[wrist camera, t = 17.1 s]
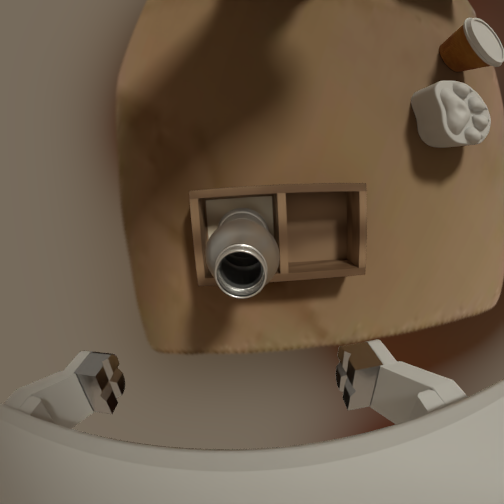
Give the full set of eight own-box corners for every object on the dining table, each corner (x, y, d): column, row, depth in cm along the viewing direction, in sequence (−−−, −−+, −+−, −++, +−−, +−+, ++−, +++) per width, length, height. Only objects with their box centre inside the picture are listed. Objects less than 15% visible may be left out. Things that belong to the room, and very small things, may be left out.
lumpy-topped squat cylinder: (406, 89, 35) (435, 74, 27) (458, 93, 35) (487, 83, 26) (421, 149, 37) (453, 144, 29) (470, 146, 37) (502, 144, 29)
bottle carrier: (196, 190, 39) (188, 191, 33) (350, 183, 39) (366, 183, 33) (204, 273, 41) (198, 286, 36) (351, 263, 41) (365, 274, 36)
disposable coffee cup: (452, 85, 34) (494, 70, 23) (424, 41, 32) (460, 17, 21) (474, 73, 33) (512, 60, 22) (448, 33, 31) (483, 13, 20)
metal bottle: (235, 196, 38) (223, 208, 19) (277, 224, 39) (306, 262, 20) (210, 236, 39) (175, 285, 20) (250, 262, 40) (254, 332, 21)
